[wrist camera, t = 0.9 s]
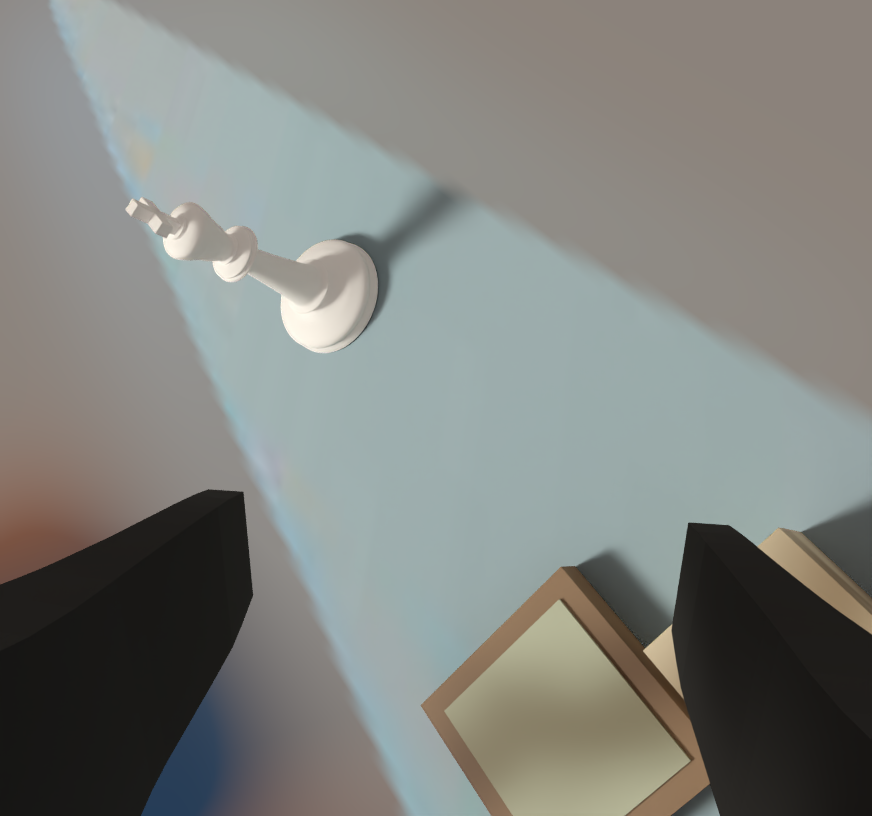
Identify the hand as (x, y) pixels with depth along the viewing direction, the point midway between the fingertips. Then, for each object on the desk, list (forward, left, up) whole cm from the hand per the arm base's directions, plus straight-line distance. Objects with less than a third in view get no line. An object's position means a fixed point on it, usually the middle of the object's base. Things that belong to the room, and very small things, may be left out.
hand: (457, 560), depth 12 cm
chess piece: (+17, +3, -13) cm, 22 cm away
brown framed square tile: (-2, +6, -13) cm, 14 cm away
